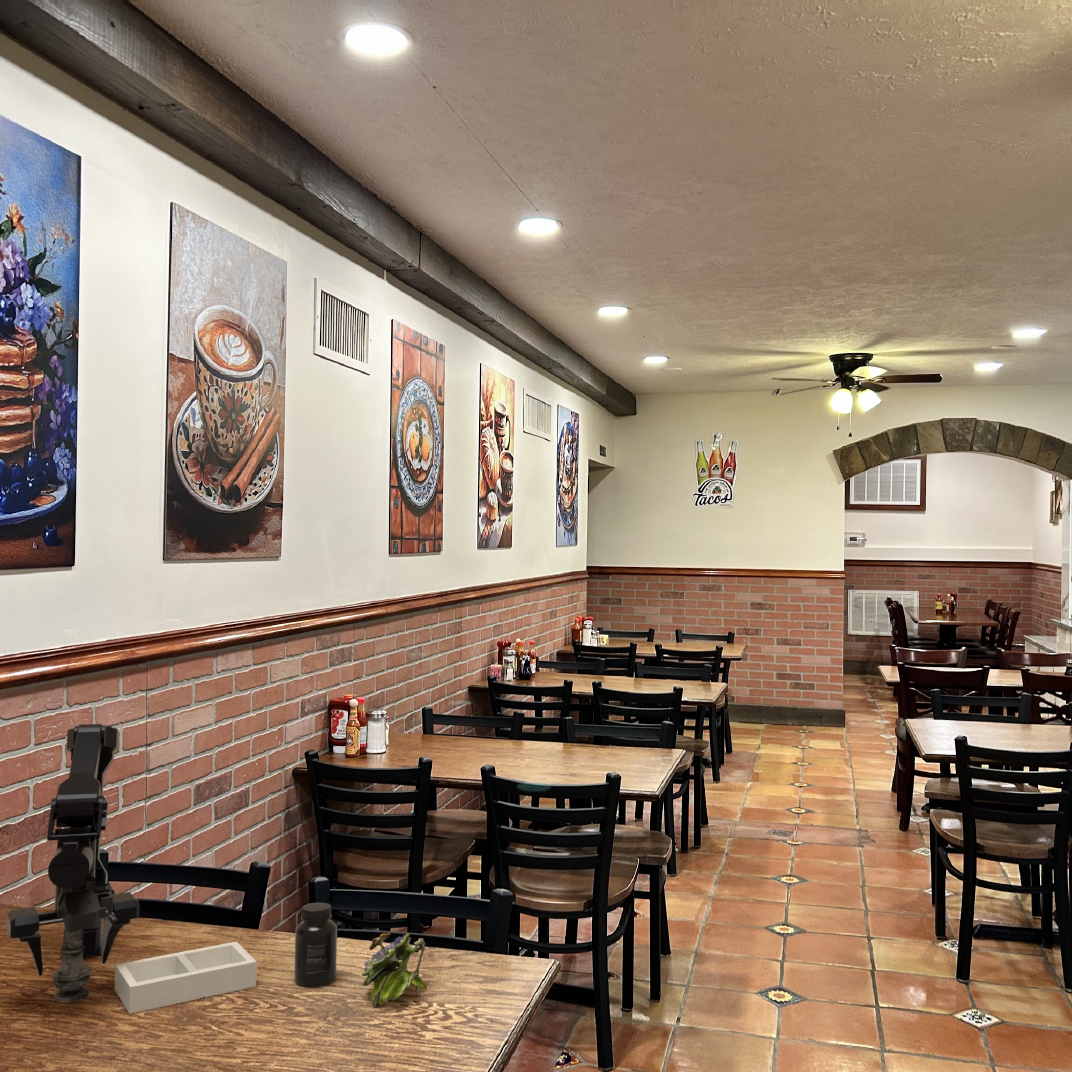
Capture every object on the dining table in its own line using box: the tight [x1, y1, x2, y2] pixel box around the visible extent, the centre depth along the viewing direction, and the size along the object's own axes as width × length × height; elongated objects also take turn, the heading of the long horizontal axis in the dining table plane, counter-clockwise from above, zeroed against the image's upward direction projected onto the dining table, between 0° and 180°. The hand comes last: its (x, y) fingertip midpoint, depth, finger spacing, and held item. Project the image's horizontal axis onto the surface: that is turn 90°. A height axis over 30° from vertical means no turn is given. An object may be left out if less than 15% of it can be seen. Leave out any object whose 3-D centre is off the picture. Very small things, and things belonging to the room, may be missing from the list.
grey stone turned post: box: [51, 928, 93, 1003], centre depth 161 cm, size 6×6×12 cm
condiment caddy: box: [114, 941, 258, 1015], centre depth 165 cm, size 10×20×4 cm, turn 124°
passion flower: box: [361, 932, 427, 1008], centre depth 164 cm, size 11×11×12 cm
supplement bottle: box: [293, 902, 338, 988], centre depth 169 cm, size 7×7×12 cm
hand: (72, 969), depth 161 cm, fingers open, 9 cm apart
